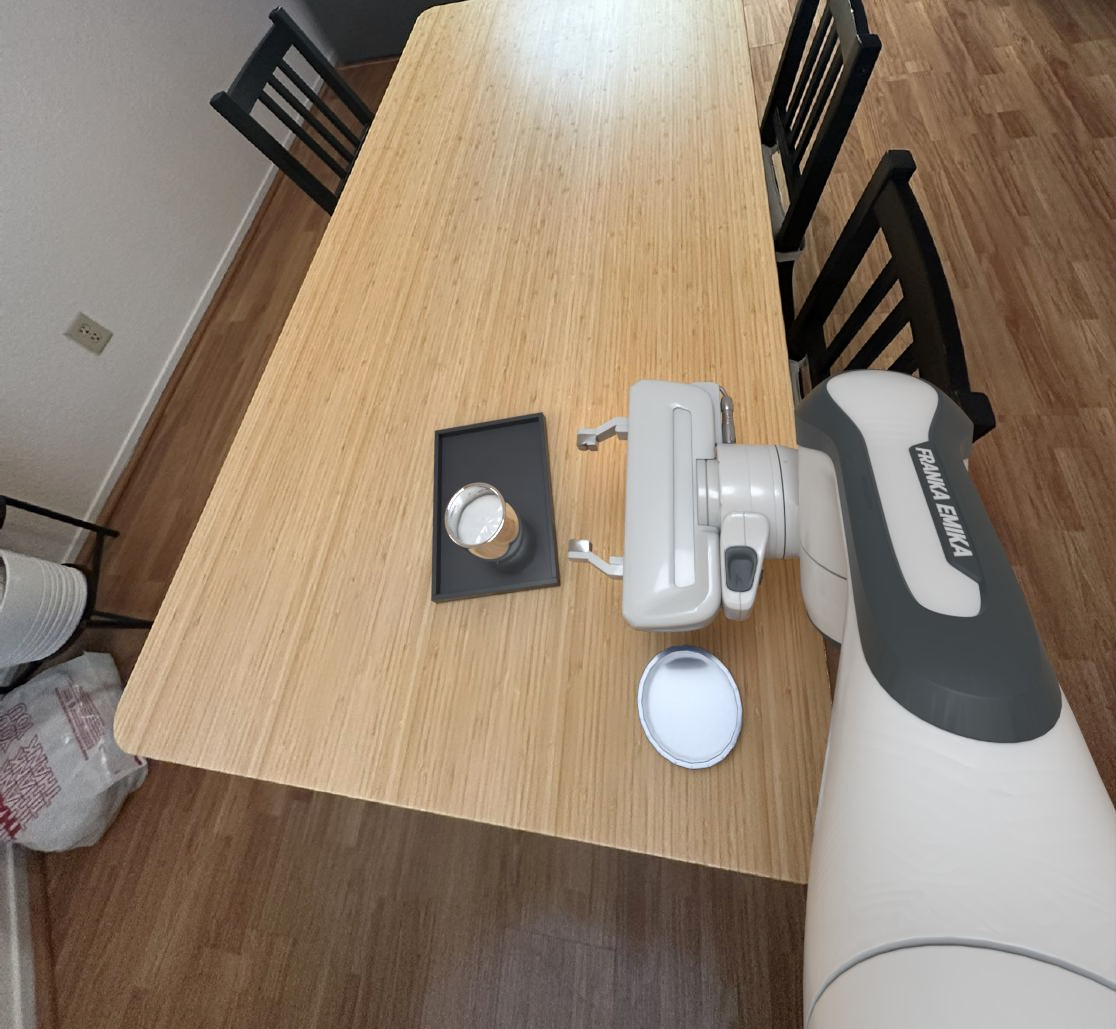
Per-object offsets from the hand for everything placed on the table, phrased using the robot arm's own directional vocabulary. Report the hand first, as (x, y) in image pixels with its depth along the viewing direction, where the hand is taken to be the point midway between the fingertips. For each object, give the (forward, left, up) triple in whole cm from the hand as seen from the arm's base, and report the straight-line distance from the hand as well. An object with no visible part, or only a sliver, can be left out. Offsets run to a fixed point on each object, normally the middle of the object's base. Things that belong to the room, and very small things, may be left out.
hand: (573, 492), depth 54 cm
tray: (+8, +14, -25) cm, 30 cm away
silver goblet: (+2, +12, -25) cm, 28 cm away
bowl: (-16, -6, -25) cm, 30 cm away
